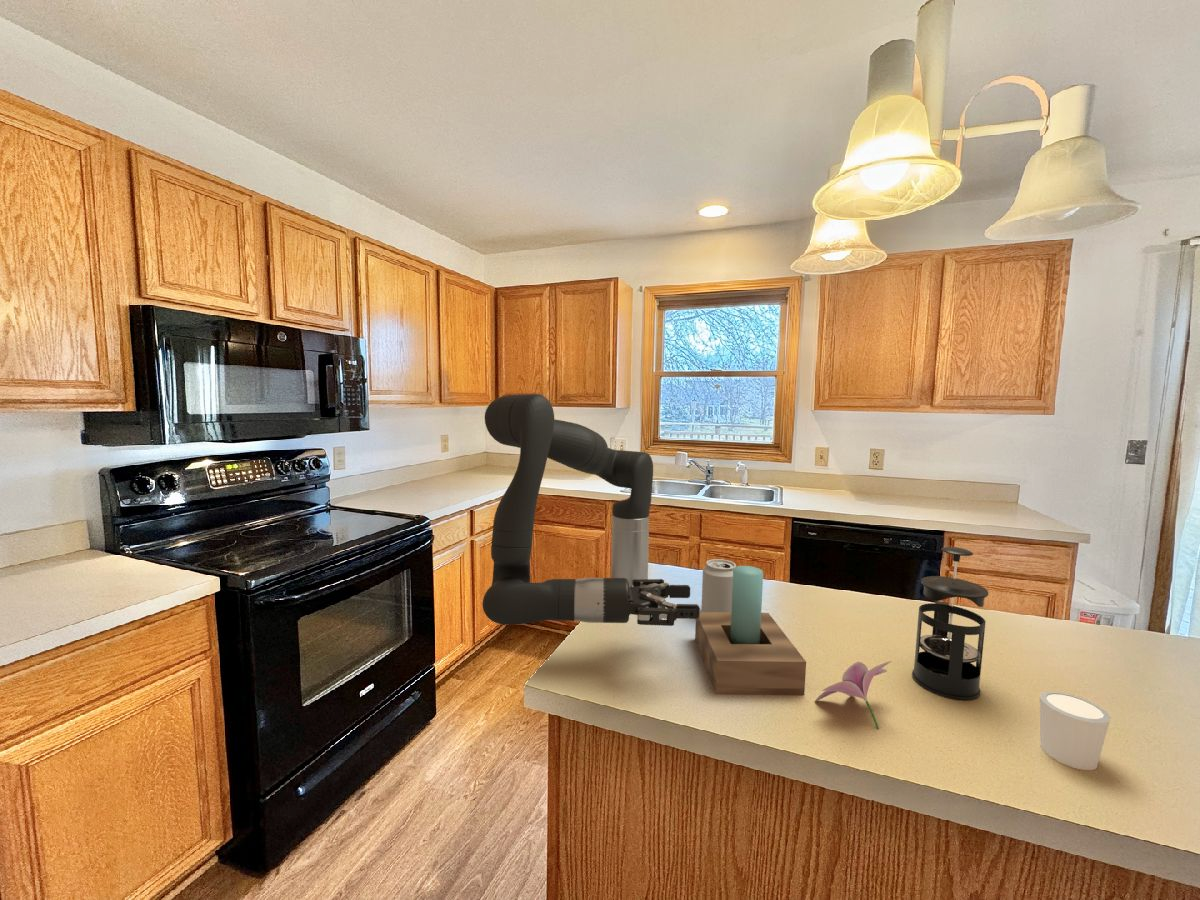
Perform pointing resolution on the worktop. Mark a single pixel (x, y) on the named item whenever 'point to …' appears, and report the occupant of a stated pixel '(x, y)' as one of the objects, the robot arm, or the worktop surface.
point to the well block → (749, 658)
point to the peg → (746, 605)
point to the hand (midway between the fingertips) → (694, 600)
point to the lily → (856, 682)
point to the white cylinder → (1072, 729)
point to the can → (717, 586)
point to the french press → (950, 637)
